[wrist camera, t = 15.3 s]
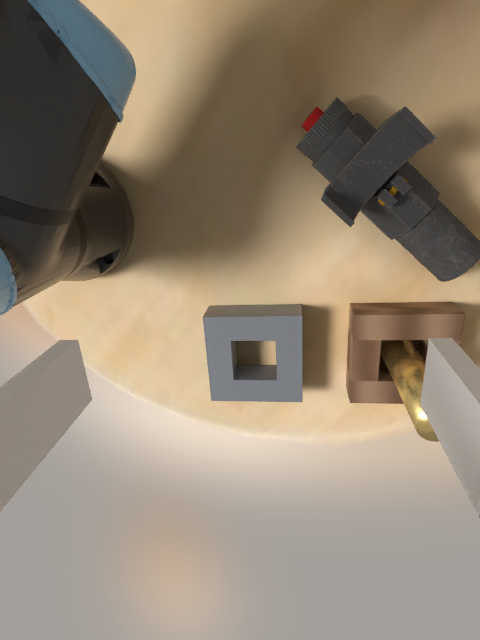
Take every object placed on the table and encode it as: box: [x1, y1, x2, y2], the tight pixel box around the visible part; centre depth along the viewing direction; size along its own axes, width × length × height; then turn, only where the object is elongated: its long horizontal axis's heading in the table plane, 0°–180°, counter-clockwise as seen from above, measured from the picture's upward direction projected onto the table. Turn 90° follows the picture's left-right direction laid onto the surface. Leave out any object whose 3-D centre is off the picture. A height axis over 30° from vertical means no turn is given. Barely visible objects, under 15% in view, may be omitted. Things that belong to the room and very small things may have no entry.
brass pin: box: [380, 340, 439, 441], centre depth 43 cm, size 4×4×16 cm
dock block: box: [346, 302, 465, 404], centre depth 49 cm, size 12×12×4 cm
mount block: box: [203, 304, 302, 402], centre depth 51 cm, size 12×12×4 cm
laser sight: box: [297, 98, 480, 281], centre depth 40 cm, size 10×22×10 cm, turn 50°
